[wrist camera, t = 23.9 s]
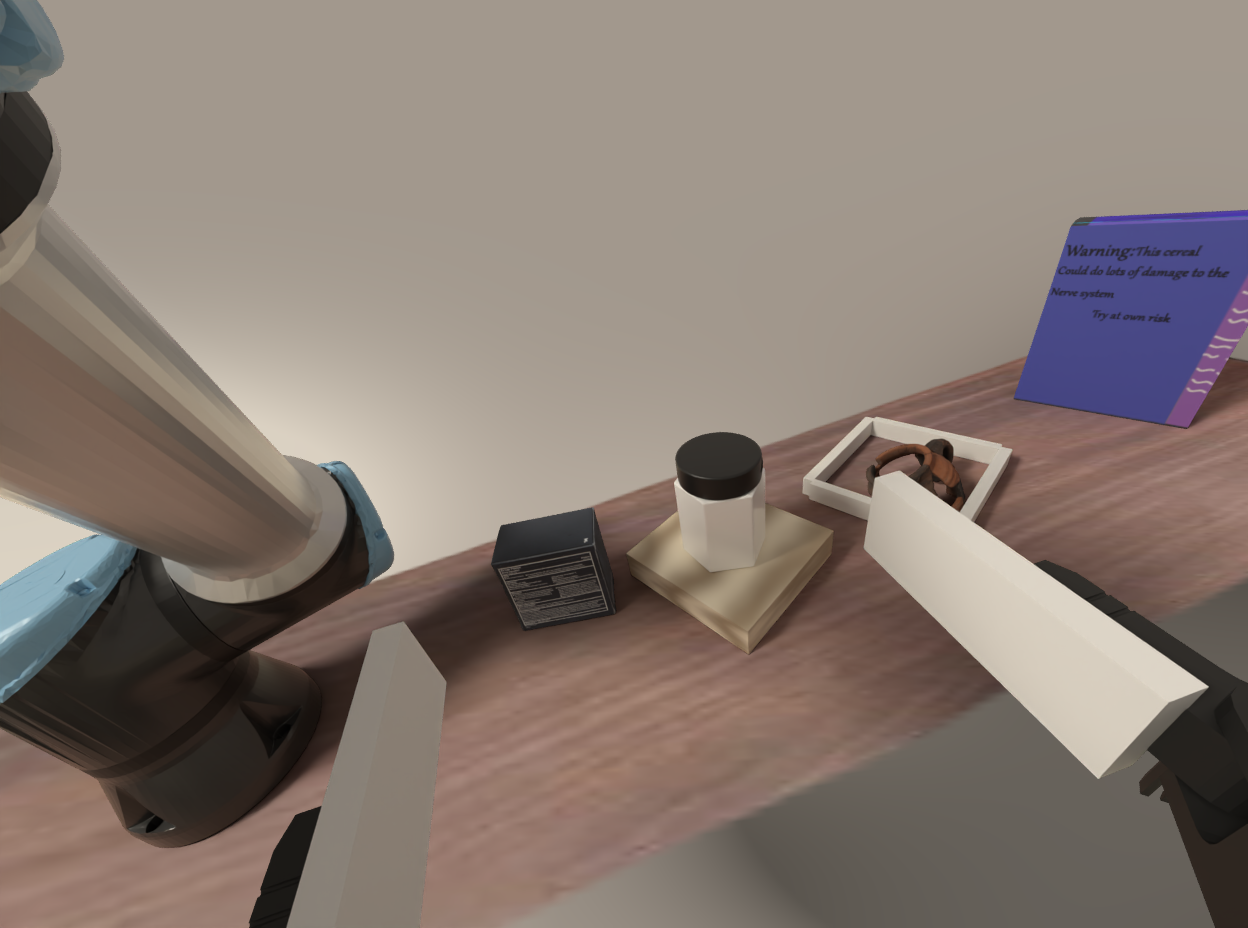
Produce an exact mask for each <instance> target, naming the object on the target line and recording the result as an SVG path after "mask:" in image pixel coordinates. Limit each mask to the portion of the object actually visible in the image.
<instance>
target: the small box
mask: <svg viewBox="0 0 1248 928" xmlns="http://www.w3.org/2000/svg"><path fill="white" fill-rule="evenodd" d="M491 565H492V567H493V569H494V571H495V572H496V574H497V576H498V578H499V580H500V582H501V584H502V585H503V588H504V591H505V593H506V595H507V597H508V599H509V601H510V603H511V605H512V607H513V609H514V611H515V613H516V615H517V617H518V620H519V622H520V624H521V627H522V629H523V630H524V631H526V630H531V629H537V628H542V627H548V626H553V625H558V624H564V623H569V622H575V621H580V620H586V619H591V618H597V617H602V616H607V615H612V614H615V612H616V606H615V596H614V579H613V573H612V571H611V567H610V564H609V561H608V557H607V553H606V550H605V547H604V543H603V540H602V536H601V532H600V529H599V525H598V522H597V519H596V515H595V511H594V508H593V507H592V508H587V509H582V510H577V511H572V512H567V513H562V514H557V515H552V516H547V517H542V518H537V519H532V520H527V521H522V522H516V523H511V524H506V525H501V527H500V530H499V533H498V537H497V541H496V545H495V550H494V554H493V558H492V562H491Z"/></svg>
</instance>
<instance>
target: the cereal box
mask: <svg viewBox="0 0 1248 928" xmlns="http://www.w3.org/2000/svg"><path fill="white" fill-rule="evenodd" d="M1247 326H1248V210H1240V211H1219V212H1218V211H1217V212H1195V213H1172V214H1150V215H1128V216H1105V217H1084V218H1079V219H1077V220H1076V221H1075V222H1074V223H1073V225H1072V226H1071V228H1070V231H1069V234H1068V237H1067V240H1066V243H1065V246H1064V249H1063V252H1062V255H1061V258H1060V261H1059V264H1058V267H1057V270H1056V273H1055V276H1054V279H1053V282H1052V285H1051V288H1050V291H1049V294H1048V297H1047V300H1046V303H1045V306H1044V309H1043V312H1042V315H1041V318H1040V321H1039V324H1038V327H1037V330H1036V333H1035V336H1034V339H1033V342H1032V345H1031V348H1030V351H1029V354H1028V357H1027V360H1026V363H1025V366H1024V369H1023V372H1022V375H1021V378H1020V381H1019V384H1018V387H1017V390H1016V393H1015V396H1014V399H1016V400H1022V401H1028V402H1034V403H1039V404H1045V405H1051V406H1057V407H1063V408H1068V409H1074V410H1080V411H1086V412H1092V413H1097V414H1103V415H1109V416H1115V417H1120V418H1126V419H1132V420H1138V421H1144V422H1149V423H1155V424H1161V425H1167V426H1173V427H1178V428H1184V429H1187V428H1188V426H1189V425H1190V423H1191V421H1192V419H1193V418H1194V416H1195V414H1196V413H1197V411H1198V409H1199V408H1200V406H1201V404H1202V403H1203V401H1204V399H1205V397H1206V396H1207V394H1208V392H1209V391H1210V389H1211V387H1212V386H1213V384H1214V382H1215V381H1216V379H1217V377H1218V375H1219V374H1220V372H1221V370H1222V369H1223V367H1224V365H1225V364H1226V362H1227V360H1228V359H1229V357H1230V355H1231V353H1232V352H1233V350H1234V348H1235V347H1236V345H1237V343H1238V342H1239V340H1240V338H1241V336H1242V335H1243V333H1244V331H1245V330H1246V328H1247Z"/></svg>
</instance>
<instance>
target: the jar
mask: <svg viewBox="0 0 1248 928" xmlns="http://www.w3.org/2000/svg"><path fill="white" fill-rule="evenodd" d="M675 460H676V468H677V475H678V478H677V480H676V481H675V483H674V486H675V493H676V500H677V507H678V514H679V520H680V527H681V534H682V541H683V548H684V550H685V551H687V552H688V553H689V554H690V555H691V556H692V557H693V558H694V559H696V560H697V561H698V562H699V563H700V564H701V565H702V566H704V567H705V568H706V569H707V570H708V571H709V572H718V571H725V570H732V569H739V568H746V567H753V566H754V565H755V563H756V560H757V558H758V555H759V552H760V550H761V547H762V545H763V542H764V539H765V469H764V468H763V459H762V452H761V449H760V447H759V446H758V444H757V443H756V442H755V441H753V440H752V439H750V438H748V437H746V436H743V435H740V434H735V433H728V432H717V433H709V434H704V435H701V436H698V437H695V438H693V439H691V440H689V441H687V442H686V443H685V444H683V445H682V446H681V447H680V449H679V450H678V451H677V454H676V458H675Z"/></svg>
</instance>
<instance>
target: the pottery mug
mask: <svg viewBox="0 0 1248 928" xmlns="http://www.w3.org/2000/svg"><path fill="white" fill-rule="evenodd" d="M910 454H915V457H916V458H917V459H918V461H919V463H920V465H921V467H920V468H919V469H918V470H917V471H916V472H915V473H913V474H911V475H910V476H908V477H909V478H911V479H912V480H914V481H915V482H917V483H918V484H919V485H921V486H922V487H924V488H925V489H927V490H928V491H929V492H931V493H932V494H934V495H935V496H937V493H936V492H935V490H934V483H933V481H935V482H939V481H942V482H943V483H944V484H945V485H946V487H947V489H946V492H947V494H949V495H952V496H954V497H956V498H957V499H956V501H955V502H954V504H953V505H952V506H951V507H952V508H954V509H955V510H957V511H958V512H959V513H960V511H961V509H962V508H963V506H964V505H965V502H964V499H965V496H964V492H963V487H962V483H961V480H960V477H959V474H958V472H957V471H956V469H955V467H954V466H953V465H952V464H951V463H952V460H953V455H954V449H953V446H952V445H951V443H950V442H949V441H947V440H945V439H942V438H941V439H933V440H931V441H929V442H928V443H927V444H926V445H925V446H924V445H920V444H904V445H900V446H897V447H894V448H891V449H889V450H887V451H885V452H884V453H882V454H880V455H879V456H878V457H877V458H876V461H877V462H878V465H877V466H876V468H875V466H874V465H871V466H870V467H869V468H867V471H866V477H867V480H868V481H869V482H868V492H869V494H870V495H871V496H872V493H873V487H874V481H875V478H877V477H880V476H879V470H880V469H881V468H882V467H884V466H885V465H886V464H888V463H889V462H891V461H893V460H895V459H897V458H900V457H902V456H906V455H910Z"/></svg>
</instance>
